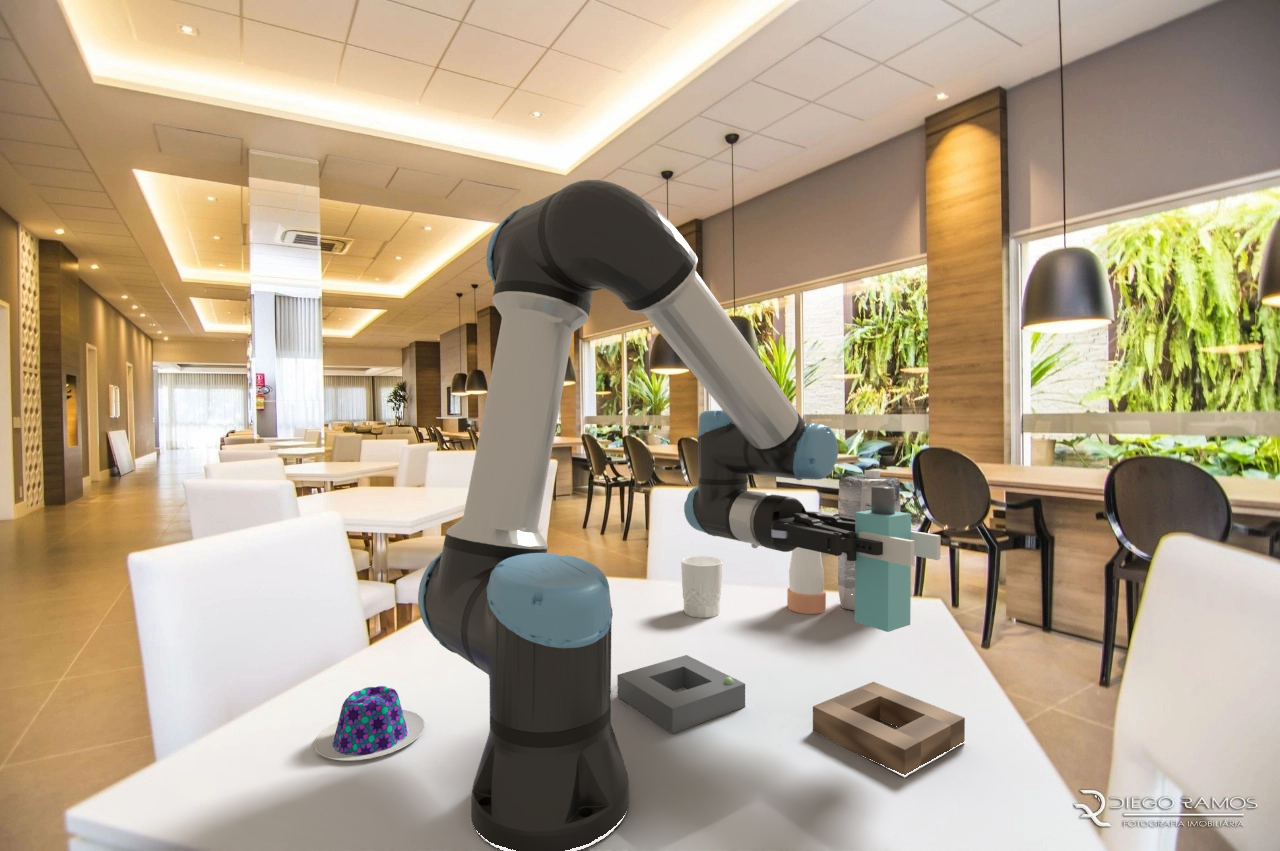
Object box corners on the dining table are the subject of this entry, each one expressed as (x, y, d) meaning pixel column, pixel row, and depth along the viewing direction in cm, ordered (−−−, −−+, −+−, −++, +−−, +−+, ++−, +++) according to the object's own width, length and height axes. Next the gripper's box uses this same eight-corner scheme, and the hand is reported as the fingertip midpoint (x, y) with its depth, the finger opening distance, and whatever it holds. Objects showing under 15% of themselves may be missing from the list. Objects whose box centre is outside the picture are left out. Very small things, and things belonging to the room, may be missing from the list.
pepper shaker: (830, 614, 119) (830, 513, 119) (791, 614, 120) (792, 513, 119) (820, 602, 127) (820, 508, 126) (783, 602, 127) (784, 507, 127)
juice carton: (889, 619, 116) (890, 473, 116) (834, 609, 123) (834, 470, 122) (902, 607, 123) (903, 470, 123) (849, 598, 130) (850, 467, 129)
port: (745, 706, 82) (745, 678, 82) (672, 733, 75) (672, 702, 75) (686, 675, 92) (686, 650, 92) (617, 696, 85) (617, 669, 85)
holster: (964, 743, 73) (964, 717, 73) (904, 778, 66) (904, 749, 66) (873, 704, 82) (873, 681, 82) (812, 731, 75) (812, 706, 75)
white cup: (721, 606, 124) (721, 556, 124) (723, 619, 116) (723, 566, 116) (681, 605, 125) (681, 555, 125) (680, 618, 117) (680, 565, 117)
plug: (910, 624, 73) (911, 487, 73) (887, 632, 71) (888, 490, 71) (877, 614, 77) (878, 484, 77) (854, 621, 75) (855, 486, 74)
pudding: (365, 709, 82) (365, 669, 82) (445, 722, 78) (444, 680, 78) (289, 757, 70) (288, 710, 70) (378, 775, 67) (378, 726, 67)
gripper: (810, 540, 94) (967, 573, 74) (723, 555, 84) (877, 597, 65) (811, 490, 94) (967, 509, 74) (723, 499, 84) (878, 524, 64)
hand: (925, 550), depth 69 cm, fingers closed on plug, 4 cm apart
